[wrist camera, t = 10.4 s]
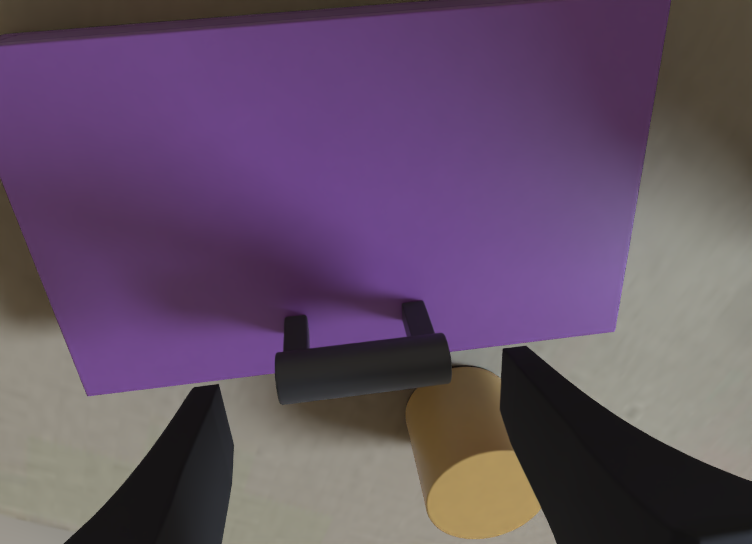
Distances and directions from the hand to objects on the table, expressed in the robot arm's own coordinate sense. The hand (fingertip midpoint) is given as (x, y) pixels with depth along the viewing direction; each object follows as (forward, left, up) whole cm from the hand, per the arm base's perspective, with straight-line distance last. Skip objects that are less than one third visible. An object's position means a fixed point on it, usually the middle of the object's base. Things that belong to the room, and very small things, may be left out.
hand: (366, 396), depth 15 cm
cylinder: (-8, +2, -6) cm, 10 cm away
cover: (+2, -2, -4) cm, 5 cm away
